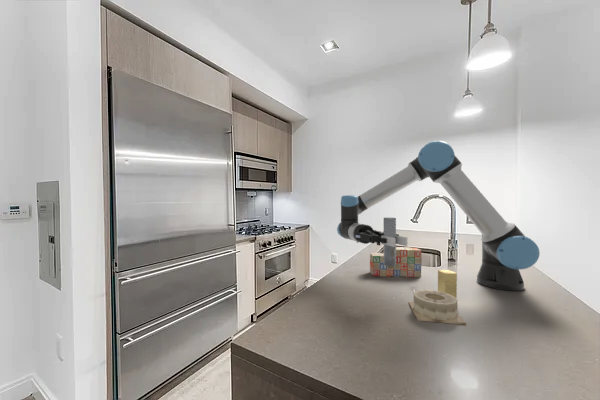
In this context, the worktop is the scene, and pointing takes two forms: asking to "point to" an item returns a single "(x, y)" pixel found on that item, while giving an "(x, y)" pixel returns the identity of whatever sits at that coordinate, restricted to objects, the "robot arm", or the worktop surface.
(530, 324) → the worktop surface
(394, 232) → the cylinder
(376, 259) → the stack of blocks
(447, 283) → the square bit
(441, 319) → the socket block
